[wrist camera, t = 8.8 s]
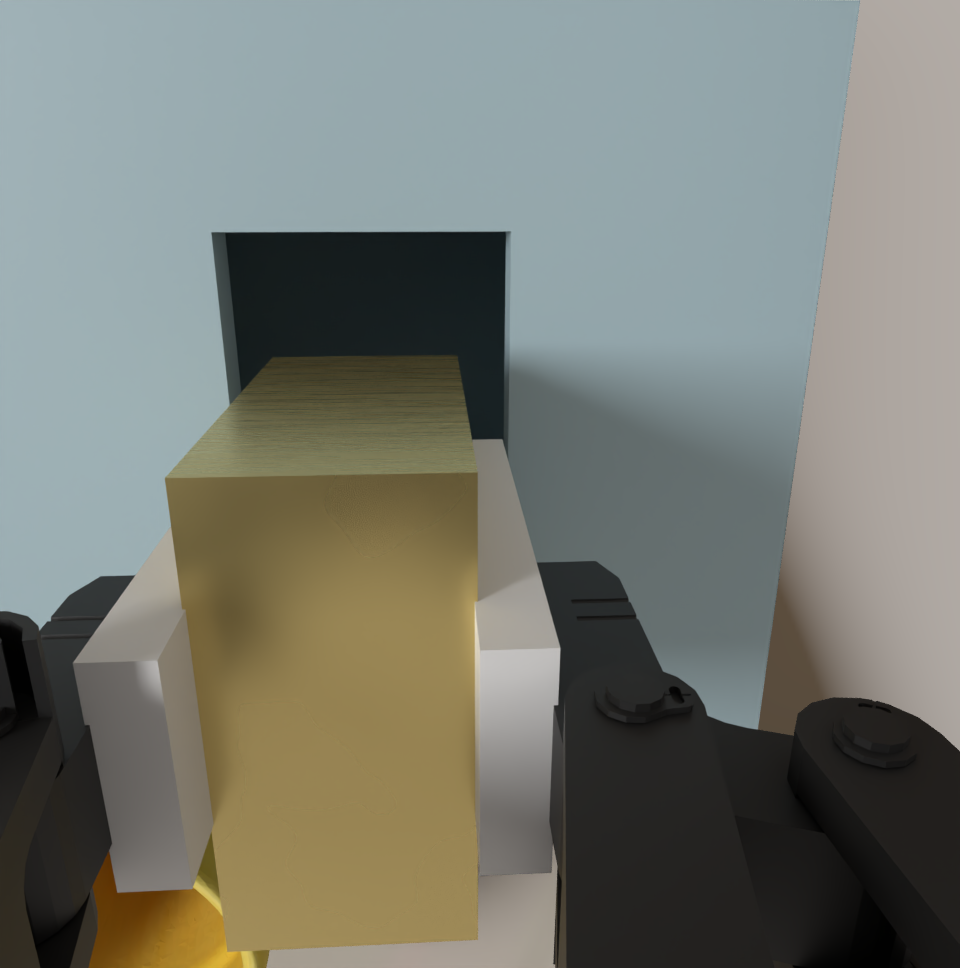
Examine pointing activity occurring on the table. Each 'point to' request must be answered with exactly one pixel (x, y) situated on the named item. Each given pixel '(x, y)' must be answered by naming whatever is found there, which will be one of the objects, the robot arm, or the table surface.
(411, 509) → the yellow rectangular block
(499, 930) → the table surface
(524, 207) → the box
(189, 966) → the plant pot
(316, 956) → the table surface
